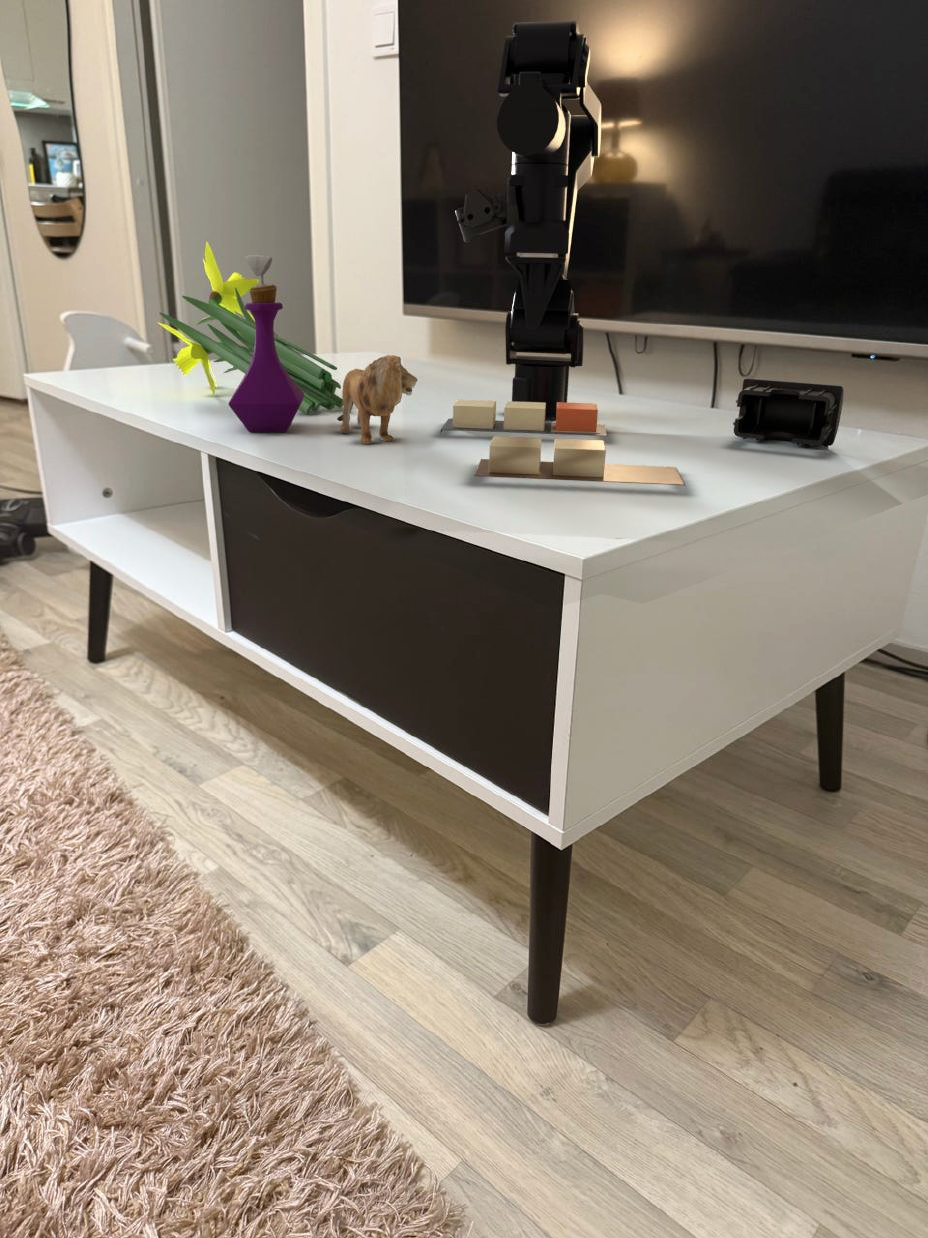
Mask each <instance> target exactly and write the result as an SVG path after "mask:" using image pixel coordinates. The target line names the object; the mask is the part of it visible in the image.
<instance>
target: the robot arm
mask: <svg viewBox="0 0 928 1238" xmlns="http://www.w3.org/2000/svg"><path fill="white" fill-rule="evenodd" d="M511 30H512V34H513V35H506V36H505V40H504V45H503V52H502V58H501V59H502V60H501V66H500V72H499V78H498V83H497V94H498V95H499V96H500V97H504V99H503V101H502V102H501V104H500V106H499V109H498V113H497V115H496V128H497V132H498V136H499V139H500V141H501V142H502V143H503V145H504V146H505V147H506V148H507V149H508V150H509V152H510V151H511V152H512V156H511V174H510V177H508V178H507V191H503V192H501V193H497V194H496V195H495V194H494V195H491V196H490V197H487V196H486V195H485V194H484V193H483V192H482V191H481V189H479V188H478V189H476V190H473V191H470V192H469V193H466V194H465V197H464V203H463V204H464V205H463V207H460V208H457V210H456V209H455V211H454V213H455V215H456V219H457V222H458V225H459V228H460V232H461V234H462V238H463V241H464V242H465V243H470V242H472V241H475V240H477V239H480V237H481V236H483V235H486V234H488V233H491V232H494V231H496V230H499V229H501V228H502V229H503V228H504V227H505V231H504V247H503V248H504V249H503V250H504V251H503V252H504V253H505V254H508V253H510V254H516V255H509V256H505V260H506V262H508V263H509V265H510V266H511V267H512V268H513V269H514V270H515V271H516V273H518V275H519V280H518V281H517V283H516V284H515V292H514V296H513V303H512V308H511V311H507V313H506V318H505V327H504V328H505V331H504V332H505V333H504V334H505V335H504V337H505V365H507V366H508V365H509V366H510V365H514V376H513V377H512V383H511V385H512V388H511V401H512V402H540V403H546V409H545V421H547V420H553V419H556V414H557V402H565V403H568V396H569V394H568V393H569V377H570V368H576V367H583V363H584V362H583V361H584V336H585V334H584V332H585V328H584V326H583V324H582V323H581V319H580V314H579V313H575V312H576V311H575V296H574V291H573V290H572V284H571V282H570V280H569V279H568V278H567V277H568V276H567V275H568V269H569V261H570V252H571V245H572V236H573V229H574V221H575V213H576V203H577V196H578V191H579V190H580V189H581V188H582V187H583V186H584V185H585V184H586V183H587V182H588V181H589V180H590V178H591V177H592V176H593V170H594V168H593V167H594V161H595V158H600V154H601V153H600V152H601V142H602V141H601V140H602V103H601V102H600V100H599V98H598V97H597V95H596V94H595V91H593V89H592V88H591V86H590V84H589V83H588V75H589V67H590V61H591V48H590V46H589V45H588V44H587V43H588V41H587V37H586V34H585V33H581V31H580V26H579V23H578V21H577V20H556V21H555V20H554V21H551V20H550V21H521V22H520V21H519V22H518V21H517V22H514V24H513V25H512V29H511ZM563 100H566V101H567V100H568V101H569V100H570V101H571V100H579V101H578V102H579V104H578V105H579V106H580V108H581V110H582V112H583V113H584V114H585V115H584V114H581V115H572V114H571V113H570V111H569V110H568V108H567V106H566V105H565V104H564V103H563V102H562V101H563ZM518 353H525V354H526V353H527V354H547V356H546V355H545V356H543V355H519V354H518ZM550 354H552V355H570V357H569V356H548V355H550Z"/></svg>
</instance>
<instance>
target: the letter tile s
mask: <svg viewBox="0 0 928 1238" xmlns="http://www.w3.org/2000/svg"><path fill="white" fill-rule="evenodd" d="M598 413H599V410H598V404H597V403H591V402H590V403H589V402H588V403H587V402H567V403H565V402H557V414H556V418H555V423H556V431H583V432H596V429H597V424H598Z"/></svg>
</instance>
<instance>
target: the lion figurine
mask: <svg viewBox="0 0 928 1238" xmlns="http://www.w3.org/2000/svg"><path fill="white" fill-rule="evenodd" d="M343 379H344V380H343V383H342V390H341V391H342V392H341V394H342V397H341V398H342V399H343V406H342V407H343V414H341V415H339V416H338V417H337V418H336V420H337V421H338V422H342V424H341V427H340V428H339V431H340V433H342V434H347V433H351V431H352V429H351V426H350V422H351V421H350V420H351V412H352V410H353V407H356V409H358V410H357V418H356V420H357V423H356V424H357V426H358V427H359V428H360V432H361V437H360V439H359V441H360V444H363V445H370V444H372V443H373V440H372V439H373V435H372V433H371V430H370V429H371V428H370V420H371V416H373V417H380V426H379V431H378V435H379V439H380V440H381V441H384V442H391V441H393V440H394V436H393V435H391V434H389V431H388V430H389V424H390V420H391V414H393V412H394V410H395V407H396V406H397V405H398V404H401V401H402V399H403V394H405V395H406V396H411V395H412V394H413V389H414V388H415V386H416V384H417V382H418V378H417V377H416V376H414V375H413V374H411V373H410V372H409V371H408V370H407V368H405V367H404V366H403V364H402V357H400V356H398V355H394V354H386V355H384V356H381V357H379V358H377V359H374V360H373V361H372V362H371V363H369V364H368V365H367V366H366V367H365V368H364V369H360V368H353V369H352V370H349V371H348V372H347V373H346V374H345V376H344V378H343Z"/></svg>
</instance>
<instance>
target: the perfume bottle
mask: <svg viewBox="0 0 928 1238" xmlns="http://www.w3.org/2000/svg"><path fill="white" fill-rule="evenodd" d="M244 257H245V259H246V261H247V263H248V265H249V267H250V269H251V271H252V272H253V274H254V275H255V276H256V277H257V278H259V277H260V284H257V285H255V286H253V287H251V289H250V290H249V295H250V299H251V301H249V302H246V303H244V306H245V309H246V310H247V311H249V313H250V314H251V315H252V316H253V318H254V320H255V321H254V322H255V326H256V340H255V348H254V353H253V354H252V355H253V357H252V361H251V363H250V365H249V367H248V369H247V371H246V373H244V375H243V377H242V379H241V381H240V383H239V384H238V386H237V388H236V389H235V391H234V393H233V395H232V396H231V398H230V399H229V401H228V406H229V408H230V409H231V410H232V412H233V413H234V414H235V415H236V417H237V419H238V420H239V421H240V422H241V423H242V425H243V426H244V427H245V429H246V430H247V431H248V432H249V433H286V432H288V431H289V429H290V427H291V425H292V424H293V421H294V419H295V416H296V415H297V413H298V411H299V407H300V405H301V403H302V401H303V398H304V396H305V394H304V393H303V392H302V390H301V389H300V388H299V387H298V386H297V384H296V383H295V382H294V381H293V380H292V379H291V377H290V376H289V375H288V373H287V372H286V370H285V369H284V367H283V366H282V364H281V363H280V360H279V358H278V355H277V352H276V347H275V342H274V332H275V331H274V326H275V320H276V316H277V315H278V312H279V311H281V310H283V308H284V307H283V303H282V302H280V301H279V302H278V301H276V299H277V298H276V297H277V291H278V287H277V285H275V284H274V283H264V282H265V281H264V277H265V274H266V273H267V272H268V270H269V269H270V268H271V265H272V262H273V256H271V255H270V256H269V255H262V254H254V255H245V256H244Z"/></svg>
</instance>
